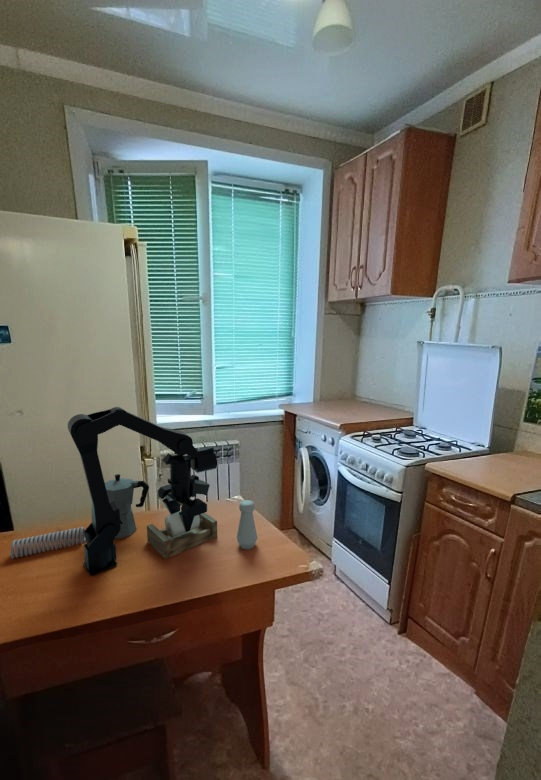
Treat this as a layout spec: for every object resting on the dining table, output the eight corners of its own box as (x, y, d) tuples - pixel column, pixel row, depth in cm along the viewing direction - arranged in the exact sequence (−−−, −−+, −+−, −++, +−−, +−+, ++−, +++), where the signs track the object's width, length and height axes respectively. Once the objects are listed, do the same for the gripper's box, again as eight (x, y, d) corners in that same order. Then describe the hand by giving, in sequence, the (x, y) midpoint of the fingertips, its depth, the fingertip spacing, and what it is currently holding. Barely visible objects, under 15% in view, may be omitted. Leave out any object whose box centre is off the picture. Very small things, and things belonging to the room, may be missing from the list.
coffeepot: (92, 541, 105) (88, 481, 103) (102, 524, 114) (98, 470, 112) (148, 537, 107) (145, 478, 105) (153, 521, 117) (150, 467, 114)
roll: (174, 540, 101) (173, 520, 100) (164, 532, 106) (163, 512, 105) (200, 530, 107) (200, 511, 106) (190, 522, 111) (189, 504, 110)
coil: (8, 547, 95) (85, 531, 103) (11, 537, 99) (85, 522, 107) (10, 563, 96) (86, 546, 104) (13, 552, 100) (86, 536, 108)
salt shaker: (232, 547, 102) (232, 503, 100) (243, 537, 107) (243, 496, 105) (250, 553, 99) (250, 508, 98) (261, 543, 104) (261, 500, 103)
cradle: (164, 559, 97) (164, 541, 96) (147, 541, 105) (146, 525, 104) (217, 536, 108) (217, 520, 107) (198, 522, 116) (197, 507, 115)
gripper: (223, 477, 102) (223, 530, 104) (189, 461, 116) (190, 507, 118) (187, 488, 95) (189, 544, 97) (156, 469, 108) (158, 518, 111)
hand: (182, 527), depth 106 cm, fingers closed on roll, 6 cm apart
